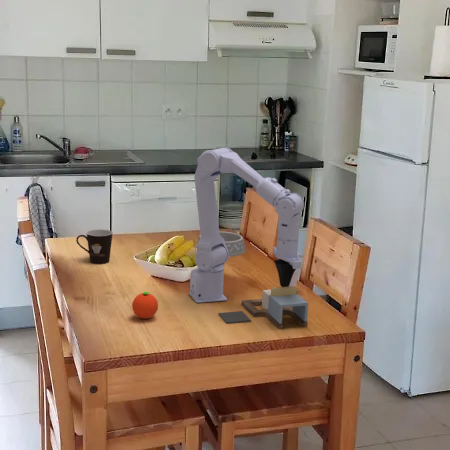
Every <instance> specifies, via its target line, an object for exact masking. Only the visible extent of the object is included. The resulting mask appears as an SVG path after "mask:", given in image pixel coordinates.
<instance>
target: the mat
mask: <svg viewBox="0 0 450 450" xmlns="http://www.w3.org/2000/svg"><path fill="white" fill-rule="evenodd" d="M218 316H219V317H220V318H221V319H222V320H223V321H224V323H225V324H226V325H227V324H228V325H229V324H236V323H237V324H238V323H251V322H252V320H251V318H249V317H248V316H247V314H246V313H244V311H242V310H239V311H236V310H235V311H225V312H218Z"/></svg>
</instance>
